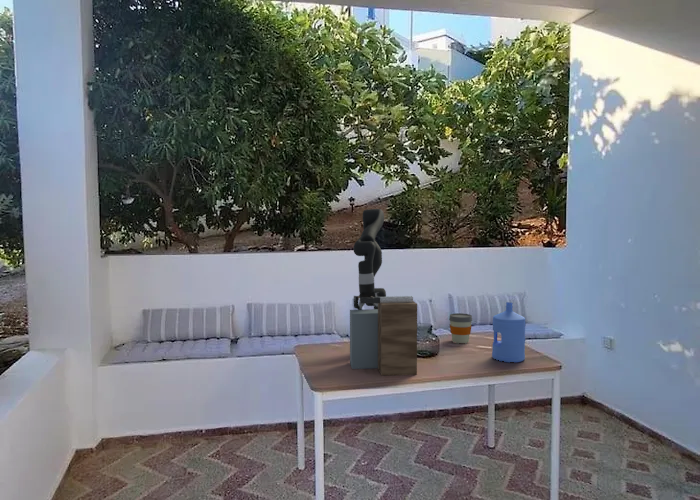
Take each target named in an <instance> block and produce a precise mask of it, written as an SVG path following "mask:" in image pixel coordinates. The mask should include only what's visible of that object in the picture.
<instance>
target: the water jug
mask: <svg viewBox="0 0 700 500" xmlns="http://www.w3.org/2000/svg"><path fill="white" fill-rule="evenodd" d="M505 304H506V305H505V310H504V311H502V312H500V313H497V314H495V315H493V316H492V330H493V342H492V349H491V350H492V351H491V357H492V359H494V360H495V359H496V360H495V361H498V360H499V361H498V362H502V361H504V362H503V363H510V362H514V363H521V362H523V361H525V359H526V355H525V354H526V351H525V348H526V317H524V316H523V315H521V314H519V313H517V312H515V311H513V304H514V303H513V302H511V301H506V303H505ZM498 333H500V335H501V336H500V337H501V338H500V339H501V340H498Z"/></svg>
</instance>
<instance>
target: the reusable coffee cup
mask: <svg viewBox="0 0 700 500" xmlns="http://www.w3.org/2000/svg"><path fill="white" fill-rule="evenodd" d="M472 317H473V316H472V315H471V314H469V313H463V312H461V313H459V312H458V313H457V312H455V313H451V314H449V330H450V333H451V341H453V343H454V342H456V343H455V344H459V343H465V344H468V343H469V342H470V334H471V333H472V321H473V318H472ZM467 342H468V343H467Z"/></svg>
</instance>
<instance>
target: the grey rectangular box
mask: <svg viewBox="0 0 700 500" xmlns="http://www.w3.org/2000/svg"><path fill="white" fill-rule="evenodd" d="M349 364H350V367H351V369H352V370H361V369H362V370H365V369H378V309H374V308H373V309H370V308H369V309H362V310H358V309H349Z"/></svg>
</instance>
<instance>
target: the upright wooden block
mask: <svg viewBox="0 0 700 500" xmlns="http://www.w3.org/2000/svg"><path fill="white" fill-rule="evenodd" d="M377 369H378V373H380V376H381V377H382V376H384V377H387V376H389V377H390V376H410V375H411V376H414V375H418V303H417V302H415V301H414V300H413V303H378V368H377Z"/></svg>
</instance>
